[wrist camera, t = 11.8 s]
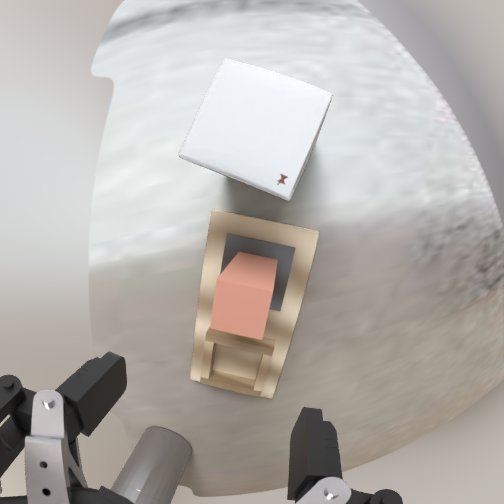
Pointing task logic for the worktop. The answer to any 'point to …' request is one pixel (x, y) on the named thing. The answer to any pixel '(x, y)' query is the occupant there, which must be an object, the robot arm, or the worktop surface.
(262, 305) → the block
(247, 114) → the supplement box
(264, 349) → the board
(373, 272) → the worktop surface
